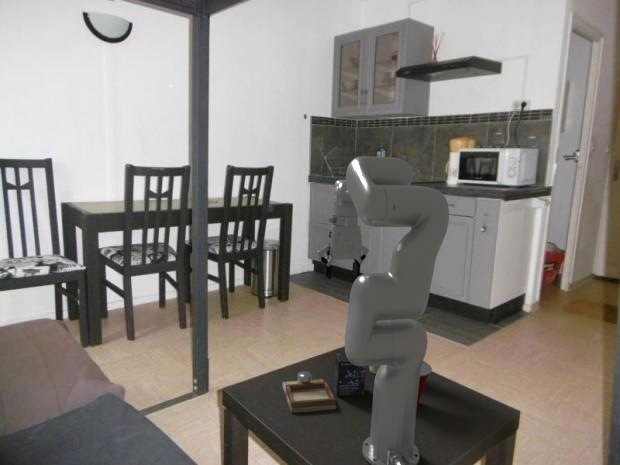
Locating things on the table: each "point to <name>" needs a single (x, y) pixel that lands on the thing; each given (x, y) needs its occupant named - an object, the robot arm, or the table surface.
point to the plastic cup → (423, 378)
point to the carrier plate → (308, 394)
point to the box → (348, 377)
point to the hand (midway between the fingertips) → (341, 276)
